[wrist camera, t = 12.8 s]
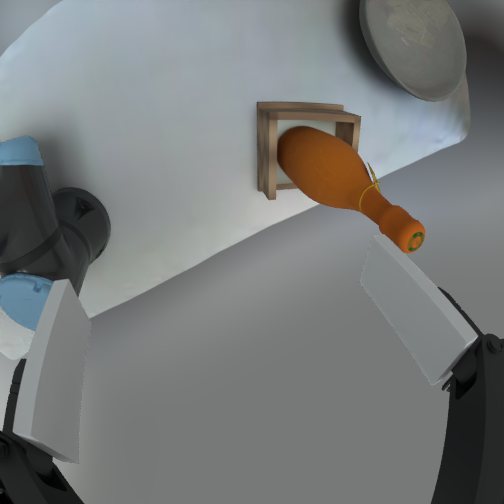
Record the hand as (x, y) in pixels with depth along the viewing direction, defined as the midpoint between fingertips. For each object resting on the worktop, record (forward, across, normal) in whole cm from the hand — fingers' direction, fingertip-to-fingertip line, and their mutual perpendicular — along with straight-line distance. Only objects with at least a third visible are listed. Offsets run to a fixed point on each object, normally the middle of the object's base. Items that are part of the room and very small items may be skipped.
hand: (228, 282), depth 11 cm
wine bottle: (+36, +18, -5) cm, 41 cm away
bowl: (+37, +38, +22) cm, 57 cm away
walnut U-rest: (+37, +19, -4) cm, 42 cm away
